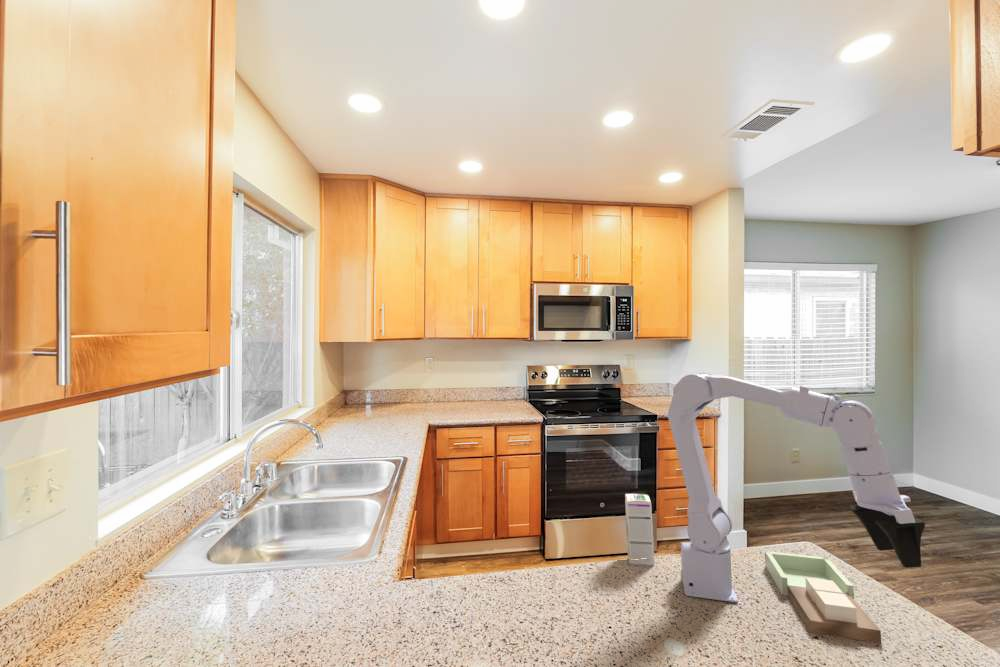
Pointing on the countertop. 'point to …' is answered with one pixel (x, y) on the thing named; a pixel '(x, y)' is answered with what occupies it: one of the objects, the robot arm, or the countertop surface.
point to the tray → (803, 571)
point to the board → (821, 625)
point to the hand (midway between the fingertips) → (898, 557)
